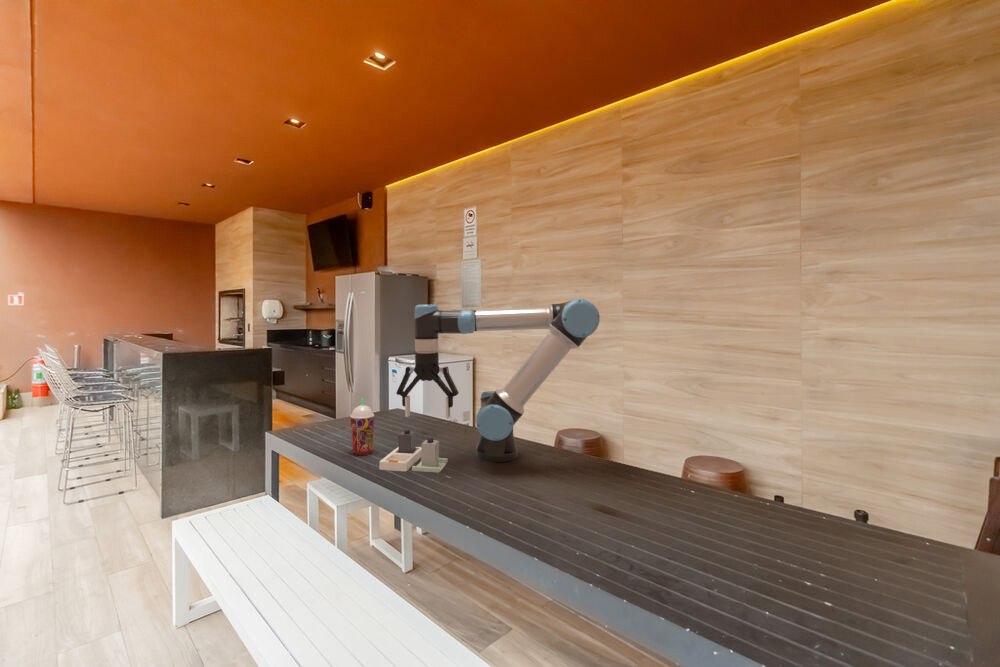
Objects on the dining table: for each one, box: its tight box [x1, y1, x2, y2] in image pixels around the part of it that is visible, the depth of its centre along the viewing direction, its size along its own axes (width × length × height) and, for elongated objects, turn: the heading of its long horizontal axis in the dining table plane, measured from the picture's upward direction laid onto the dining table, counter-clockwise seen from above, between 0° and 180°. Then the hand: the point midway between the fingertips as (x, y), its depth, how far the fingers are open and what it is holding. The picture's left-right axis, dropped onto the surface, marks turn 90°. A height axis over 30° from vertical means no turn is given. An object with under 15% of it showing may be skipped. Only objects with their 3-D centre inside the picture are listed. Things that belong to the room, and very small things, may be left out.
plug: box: [421, 436, 440, 467], centre depth 147 cm, size 4×4×10 cm
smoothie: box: [349, 397, 375, 456], centre depth 161 cm, size 8×8×20 cm
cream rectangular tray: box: [378, 427, 422, 472], centre depth 151 cm, size 9×17×10 cm, turn 171°
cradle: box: [411, 457, 449, 473], centre depth 147 cm, size 9×10×2 cm
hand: (427, 416), depth 146 cm, fingers open, 13 cm apart
